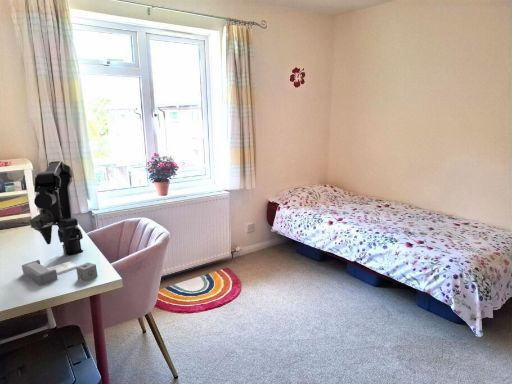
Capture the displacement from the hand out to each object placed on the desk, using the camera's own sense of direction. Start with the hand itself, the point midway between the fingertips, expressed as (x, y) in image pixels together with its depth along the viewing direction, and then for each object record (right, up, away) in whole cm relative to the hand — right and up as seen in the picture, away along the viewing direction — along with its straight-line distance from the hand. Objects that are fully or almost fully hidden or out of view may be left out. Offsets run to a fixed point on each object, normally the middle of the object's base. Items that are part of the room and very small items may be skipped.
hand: (57, 244), depth 134 cm
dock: (-8, -13, +2) cm, 15 cm away
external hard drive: (-4, -13, +7) cm, 15 cm away
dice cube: (+12, -13, 0) cm, 18 cm away
